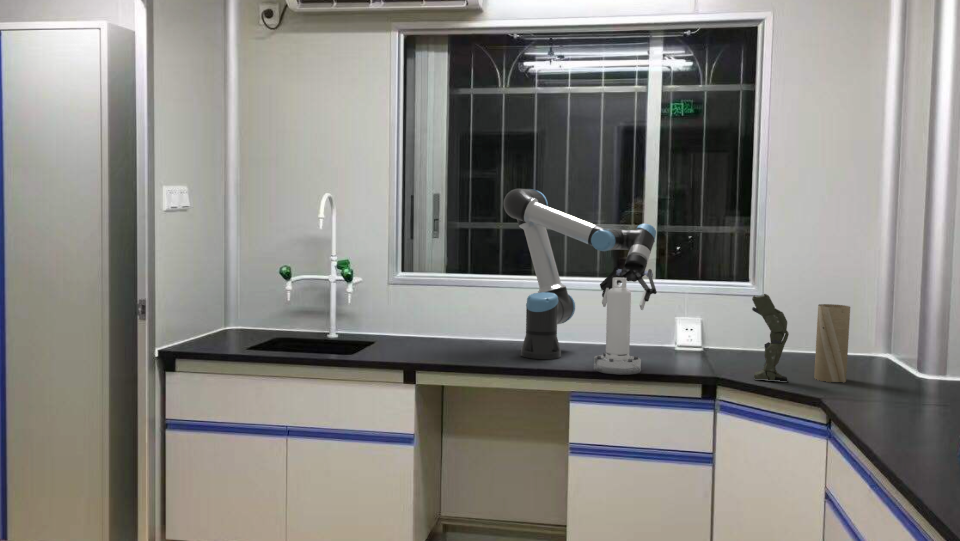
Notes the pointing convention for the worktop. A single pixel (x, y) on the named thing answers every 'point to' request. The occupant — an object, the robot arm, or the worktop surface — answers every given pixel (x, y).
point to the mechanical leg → (771, 337)
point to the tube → (832, 342)
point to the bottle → (618, 321)
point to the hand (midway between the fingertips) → (622, 306)
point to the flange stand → (617, 365)
